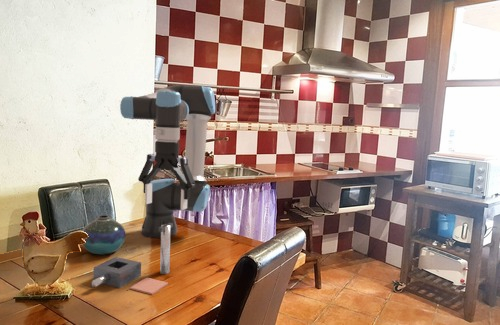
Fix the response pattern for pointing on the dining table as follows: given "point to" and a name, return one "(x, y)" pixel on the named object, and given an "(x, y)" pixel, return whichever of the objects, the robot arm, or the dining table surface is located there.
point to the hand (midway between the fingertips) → (165, 206)
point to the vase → (104, 235)
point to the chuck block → (116, 272)
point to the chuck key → (165, 248)
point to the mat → (149, 286)
